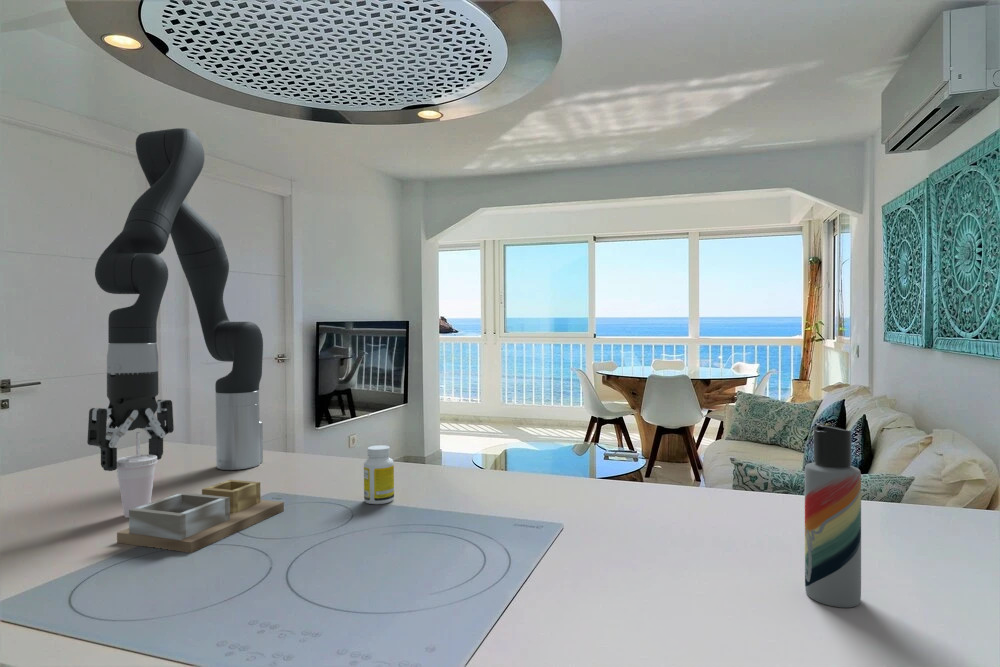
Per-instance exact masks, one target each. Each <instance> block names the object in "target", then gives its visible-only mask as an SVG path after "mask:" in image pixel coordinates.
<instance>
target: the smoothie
mask: <svg viewBox="0 0 1000 667" xmlns="http://www.w3.org/2000/svg"><path fill="white" fill-rule="evenodd" d="M135 437H136V438H135V439H136V440H135V444H136V445H135V446H136V449H135V450H136V452H135V453H136V454H134V455H128V456H122V457H117V469H116V473H117V479H118V486H119V491H120V499H121V504H122V505H121V506H122V512H123V517H124V518H126V519H129V510H130V509H133V508H137V507H140V506H143V505H146V504H149V503H152V496H153V495H152V494H153V485H154V478H155V473H156V472H155V471H156V464H157V463H158V461H159V460H157V456H156V455H149V453H148V454H141V432H140V431H138V432H135Z"/></svg>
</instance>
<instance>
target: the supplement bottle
mask: <svg viewBox="0 0 1000 667" xmlns="http://www.w3.org/2000/svg"><path fill="white" fill-rule="evenodd" d="M390 448H391V447H390V446H389V445H385V444H384V445H371V446H369V447H367V456H368V458H367V459H366V460H365V461H364V463H363V498H364V499H363V500H364V502H365V503H366V504H369V505H385V504H387V503H388V504H389V503H391V502H392V501H394V499H395V464H394V460H393V458H390V457H389V456H390V455H391V453H390V452H391V449H390Z"/></svg>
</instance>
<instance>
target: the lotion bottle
mask: <svg viewBox="0 0 1000 667" xmlns="http://www.w3.org/2000/svg"><path fill="white" fill-rule="evenodd" d="M861 474H862V473H861V470H860V469H859V468H858V467H855V466H853V465H852V431H851V430H849V429H848V430H847V429H844V428H841V427H836V426H832V425H828V424H827V425H826V424H817V425H816V426H815V427H814V428H813V462H809V463H806V464H805V466H804V586H805V587H804V589H805V593H806V595H807V597H809V598H811V599H812V600H814V601H815V602H818V603H820V604H823V605H826V606H830V607H837V608H853V607H856V606H859V605H860V603H861V600H862V598H861V597H862V475H861Z"/></svg>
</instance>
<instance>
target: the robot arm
mask: <svg viewBox="0 0 1000 667" xmlns="http://www.w3.org/2000/svg"><path fill="white" fill-rule="evenodd" d="M135 152H136V156H137V160H138V162H139V165H140V168H141V170H142V172H143V174H144V176H145V179H146V181H147V183H148V185H149V188H148V189H147V190H145V191H144V193H142V194H141V195H140V196H139V197H138V198H137V199H136V200H135V202H134V203H133V205H132V206H131V208H130V210H129V213H128V215H127V217H126V220H125V223H124V226H123V228H122V231H121V232H120V233H119V234H118V235H117V236H116V237H115V238H114V239H113V241H112V242H111V243H110V244H109V245H108V246H107V247H106V248H105V249H104V250H103V252H102V253H101V254H100V256H99V257H98V259H97V260H96V261H97V262H96V264H95V268H94V278H95V281H96V283H97V285H98V286H99V288H100V289H101V290H103V291H104V292H105V293H107V294H113V295H138V297H137V299H136V301H135V302H134V303H133V304H132V305H129V306H125V307H121V308H117V309H113V310H112V311H110V312H109V314H108V320H107V321H108V322H107V323H108V325H107V326H108V327H107V329H108V330H107V331H108V332H107V334H108V335H107V337H108V338H107V339H108V340H107V341H108V342H107V343H108V346H107V353H106V397H107V398H108V400H109V404H108V406H107V407H106V408H105V407H104V408H101V407H91V408H90V409H89V411H88V424H87V425H88V427H87V441H86V442H87V445H88V446H94V447H98V448H99V449H100V466H101V468H102V469H103V470H104V471H107V472H112V471H117V459H118V447H116V445H117V444H118V443H119V441H120V439H121V438H122V437H123V436H125V434H126V433H127V432H128V431H134V430H137V429H142V430H144V431H145V433H146V434H147V435H148V436H149V437H150V438H148V454H149V455H156V456H157V461H159V460H161V459H162V457H163V455H164V438H165V436H166V435H167V434H172V433H173V432H174V430H175V429H174V428H175V426H174V425H175V424H174V411H173V401H172V400H170V399H156V397H157V396H158V395H159V352H158V347H157V346H158V344H157V342H158V341H157V337H158V336H157V329H158V328H157V327H158V326H157V323H158V322H157V321H158V315H159V313H160V312H159V311H160V307H161V303H162V299H163V298H164V297H163V296H164V295H165V291H166V288H167V286H168V285H167V284H168V281H169V268H168V266H167V262H165V260H164V259H163V258H162V257H161V256H160V254H161V253H163V252H165V249H166V247H167V244H168V241H169V238H170V237H171V239H172V242H173V246H174V249H175V253H176V255H177V257H178V260H179V263H180V266H181V268H182V270H183V273H184V276H185V278H186V281H187V283H188V286H189V289H190V292H191V296H192V297H193V298H192V299H193V301H194V304H195V307H196V310H197V315H198V319H199V322H200V328H201V331H202V336H203V340H204V343H205V346H206V348H207V350H208V353H209V354H210V356H211V357H212V358H213V359H214V360H217V361H219V362H224V363H225V362H229V363H230V362H232V368H231V371H230V372H229V373H227V375H224V376H223V377H220V378H218V379H216V381H215V384H214V385H215V390H214V391H215V448H216V449H215V450H216V451H215V452H216V453H215V455H216V458H215V460H216V468H217V469H219V470H224V471H235V470H236V471H237V470H244V469H250V468H255V467H257V466H259V465H260V464H261V463H263V461H264V447H263V446H264V445H263V442H264V441H263V440H264V439H263V438H264V437H263V422H262V421H260V382H261V380H262V376H263V360H264V359H263V357H264V356H263V355H264V338H263V333H262V330H261V329H260V327H259V325H257V324H256V323H255V322H252V321H230V319H229V316H228V314H227V311H226V306H225V304H224V293H225V292H224V291H225V288H226V285H227V281H228V276H229V272H230V263H229V258H228V255H227V251H226V249H225V246H224V243H223V241H222V238H221V236H220V234H219V232H218V231H217V229H216V228H215V227H214V226H213V225H212V224H210V223H209V222H208V220H206V219H205V218H204V217H203V216H202V215H201V214H200V213H199V212H197V211H196V210H195V209H194V208H193V207H192V206H191V205H190V204H189V203H188V201H187V200H186V198H187V196H188V195H189V194H190V191H191V190H192V188H193V186H194V184H195V183H196V181H197V179H198V178H199V176H200V175H201V173H202V172H203V168H204V165H205V151H204V146H203V144H202V142H201V140H200V138H199V137H198V135H197V134H196V133H195V132H194V131H193V130H191V129H188V128H183V127H180V128H179V127H178V128H171V129H170V128H169V129H168V128H167V129H159V130H155V131H154V130H153V131H147V132H146V131H145V132H143V133H140V134H139V135H137V137H136V139H135ZM155 414H156V416H155ZM109 419H110V420H109ZM108 420H109V422H108V423H107V421H108Z"/></svg>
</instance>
